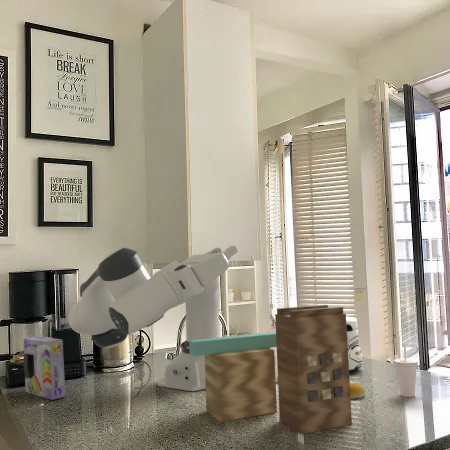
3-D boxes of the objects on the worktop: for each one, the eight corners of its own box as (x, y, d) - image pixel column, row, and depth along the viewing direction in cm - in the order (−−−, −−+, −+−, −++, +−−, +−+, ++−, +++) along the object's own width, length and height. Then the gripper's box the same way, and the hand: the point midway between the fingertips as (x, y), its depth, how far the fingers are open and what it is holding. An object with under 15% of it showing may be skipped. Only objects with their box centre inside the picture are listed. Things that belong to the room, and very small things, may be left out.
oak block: (220, 421, 117) (217, 356, 119) (206, 410, 126) (204, 349, 128) (277, 412, 123) (274, 349, 125) (260, 402, 133) (257, 344, 134)
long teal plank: (193, 356, 120) (193, 342, 120) (189, 354, 123) (189, 340, 123) (284, 346, 129) (283, 333, 130) (277, 344, 133) (277, 331, 133)
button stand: (302, 434, 107) (296, 311, 109) (279, 420, 116) (274, 308, 119) (353, 424, 112) (347, 307, 114) (327, 412, 122) (322, 304, 124)
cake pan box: (22, 391, 153) (22, 336, 155) (37, 388, 157) (36, 334, 158) (50, 402, 140) (50, 341, 142) (66, 398, 144) (65, 339, 145)
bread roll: (355, 401, 131) (355, 387, 131) (329, 395, 137) (328, 381, 138) (371, 395, 136) (371, 381, 136) (345, 389, 143) (344, 376, 143)
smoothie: (420, 393, 136) (417, 343, 137) (419, 399, 130) (415, 347, 131) (396, 391, 139) (393, 342, 140) (394, 397, 133) (391, 346, 134)
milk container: (369, 375, 159) (366, 321, 160) (317, 376, 159) (315, 322, 160) (355, 364, 176) (353, 315, 177) (309, 365, 176) (306, 316, 178)
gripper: (173, 291, 115) (217, 261, 120) (200, 295, 96) (252, 259, 102) (159, 269, 115) (205, 240, 120) (184, 269, 96) (237, 234, 101)
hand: (227, 249), depth 110 cm, fingers open, 8 cm apart
